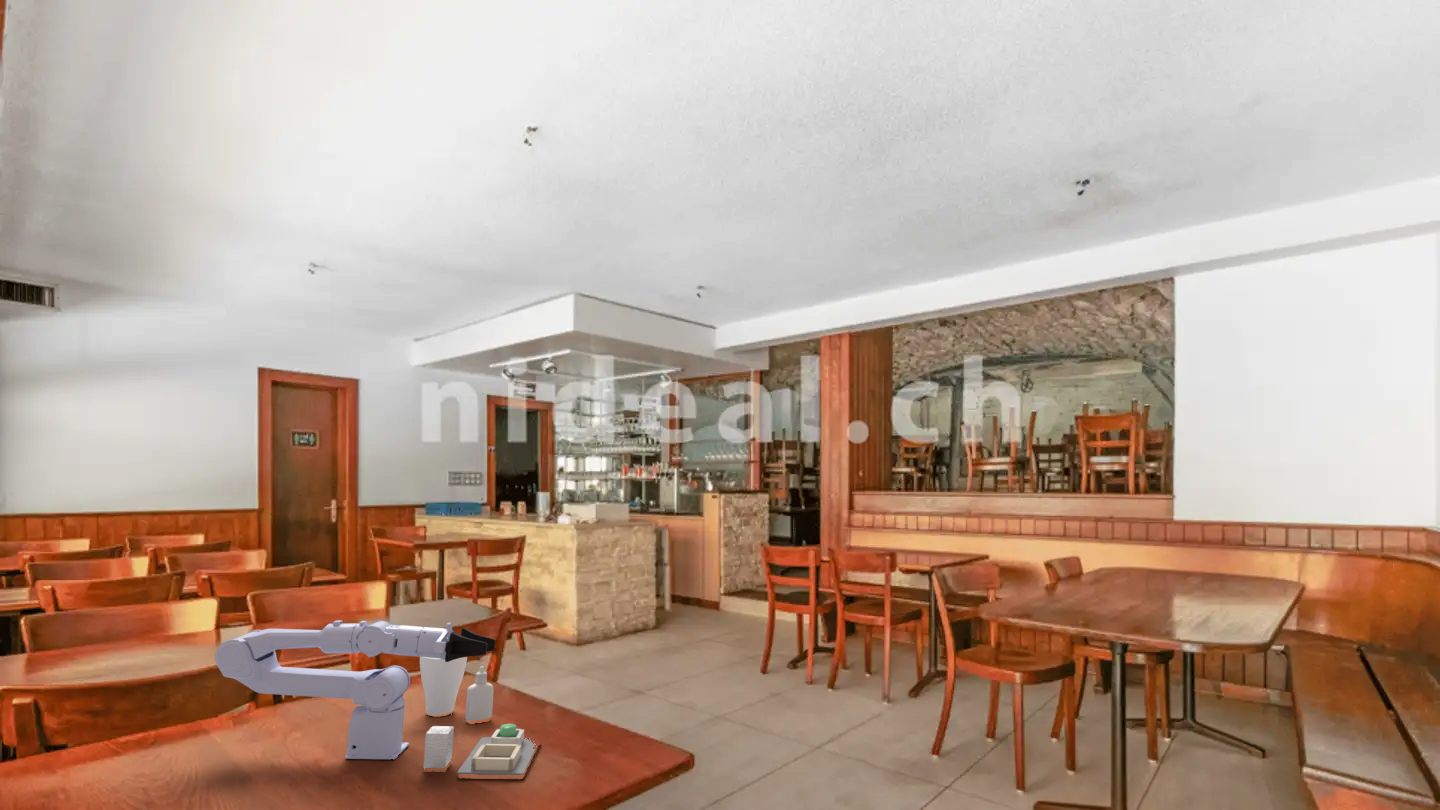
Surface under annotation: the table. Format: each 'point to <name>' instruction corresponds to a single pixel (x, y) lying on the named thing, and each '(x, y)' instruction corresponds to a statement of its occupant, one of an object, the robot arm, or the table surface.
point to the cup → (441, 683)
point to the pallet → (499, 755)
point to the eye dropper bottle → (479, 698)
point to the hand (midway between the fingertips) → (490, 647)
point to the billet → (438, 746)
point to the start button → (508, 730)
